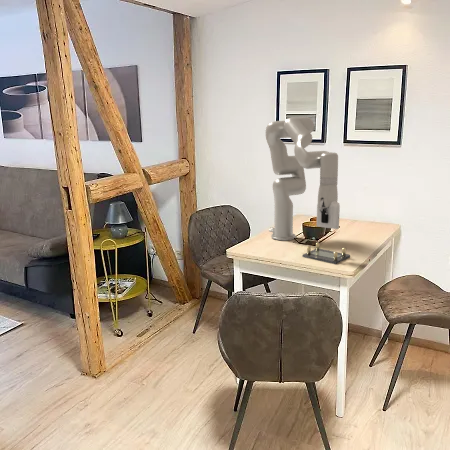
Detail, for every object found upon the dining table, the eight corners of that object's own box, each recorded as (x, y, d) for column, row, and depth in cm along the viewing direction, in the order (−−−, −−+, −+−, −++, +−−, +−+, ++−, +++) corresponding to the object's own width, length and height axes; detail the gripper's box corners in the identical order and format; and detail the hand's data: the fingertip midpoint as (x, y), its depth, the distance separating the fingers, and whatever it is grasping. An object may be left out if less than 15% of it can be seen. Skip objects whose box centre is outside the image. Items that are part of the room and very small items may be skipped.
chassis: (302, 256, 216) (302, 247, 214) (317, 250, 225) (317, 241, 224) (335, 264, 205) (336, 254, 203) (349, 256, 214) (350, 247, 213)
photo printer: (340, 227, 210) (341, 200, 207) (337, 229, 206) (337, 202, 203) (318, 225, 215) (319, 198, 213) (315, 227, 212) (315, 200, 209)
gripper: (330, 178, 215) (329, 217, 219) (310, 182, 202) (310, 224, 207) (345, 179, 210) (344, 219, 214) (326, 184, 198) (325, 226, 202)
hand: (327, 221), depth 210 cm, fingers closed on photo printer, 4 cm apart
